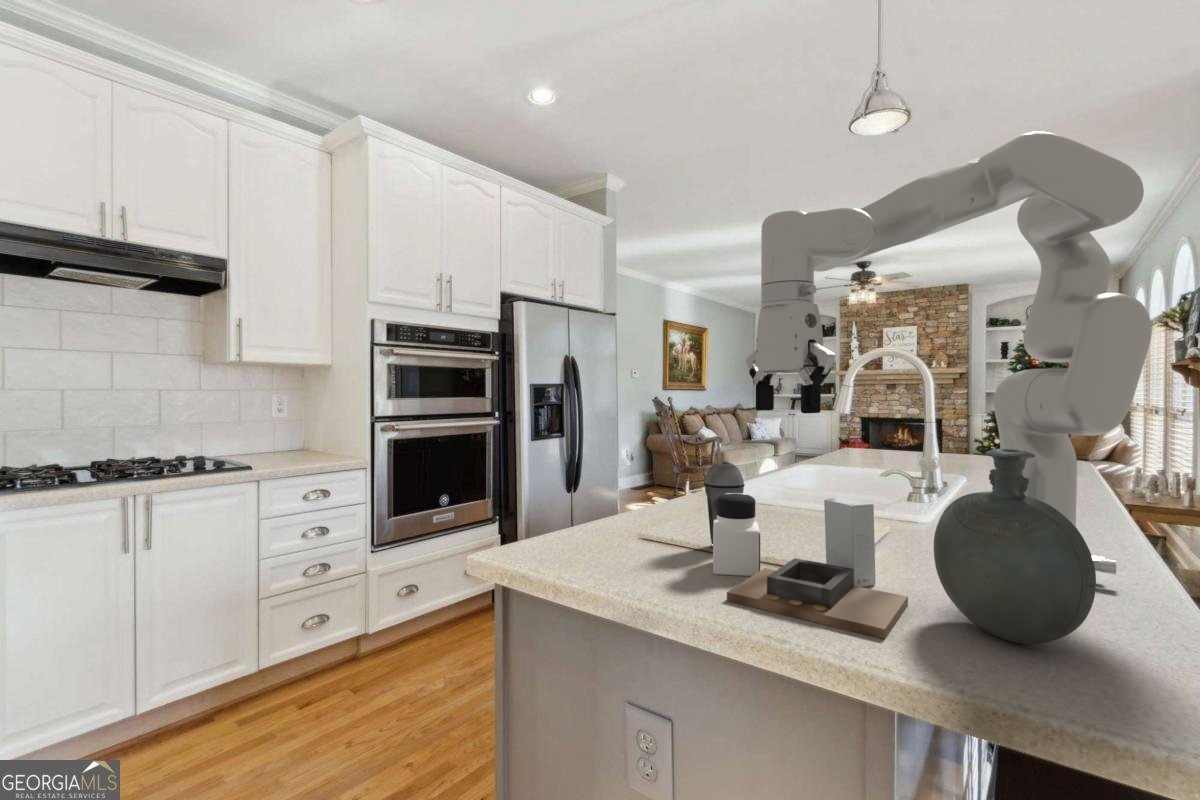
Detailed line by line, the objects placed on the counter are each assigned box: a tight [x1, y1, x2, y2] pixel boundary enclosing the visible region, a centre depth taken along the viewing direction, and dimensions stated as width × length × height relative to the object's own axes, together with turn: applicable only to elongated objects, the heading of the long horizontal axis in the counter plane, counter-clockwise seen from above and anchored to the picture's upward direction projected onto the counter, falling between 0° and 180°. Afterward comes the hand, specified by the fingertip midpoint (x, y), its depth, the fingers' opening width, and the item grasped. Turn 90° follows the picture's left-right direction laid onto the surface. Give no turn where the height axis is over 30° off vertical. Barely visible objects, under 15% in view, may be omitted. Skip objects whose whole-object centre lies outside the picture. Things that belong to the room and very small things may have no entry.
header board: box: [726, 557, 909, 640], centre depth 79 cm, size 20×13×4 cm, turn 52°
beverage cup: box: [703, 437, 746, 545], centre depth 106 cm, size 7×7×20 cm
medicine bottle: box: [712, 493, 761, 577], centre depth 94 cm, size 7×7×12 cm
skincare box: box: [823, 496, 876, 588], centre depth 88 cm, size 6×4×12 cm
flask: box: [933, 448, 1097, 645], centre depth 68 cm, size 12×17×22 cm
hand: (786, 411), depth 88 cm, fingers open, 9 cm apart
